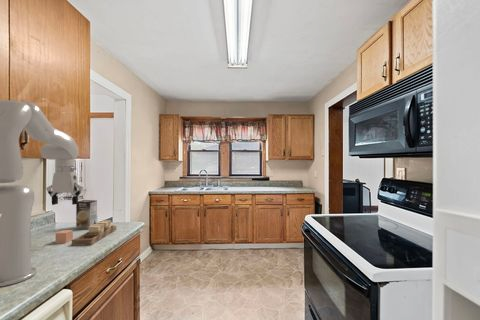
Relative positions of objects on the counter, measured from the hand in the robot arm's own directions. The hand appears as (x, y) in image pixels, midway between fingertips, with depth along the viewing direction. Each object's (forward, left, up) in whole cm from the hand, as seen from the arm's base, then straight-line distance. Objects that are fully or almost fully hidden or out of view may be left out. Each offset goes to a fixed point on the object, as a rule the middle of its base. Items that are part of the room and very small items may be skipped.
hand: (64, 204), depth 120 cm
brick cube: (0, 0, -18) cm, 19 cm away
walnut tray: (+13, -4, -18) cm, 23 cm away
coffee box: (+15, +20, -19) cm, 31 cm away
